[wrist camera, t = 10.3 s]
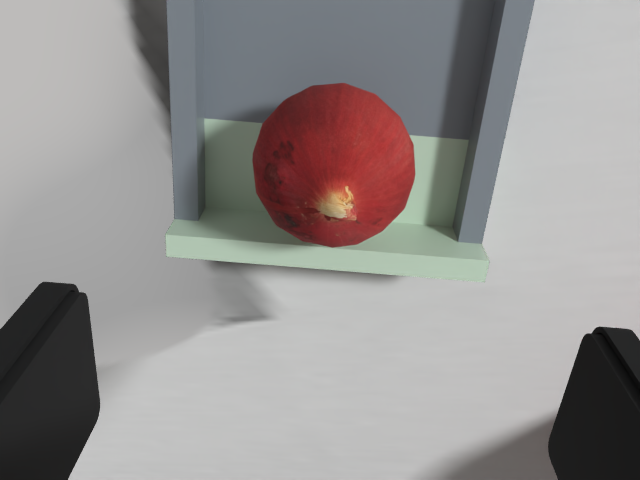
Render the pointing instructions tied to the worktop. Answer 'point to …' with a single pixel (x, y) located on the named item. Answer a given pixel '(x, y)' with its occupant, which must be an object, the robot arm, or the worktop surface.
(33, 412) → the robot arm
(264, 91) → the channel
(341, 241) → the onion
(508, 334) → the worktop surface
